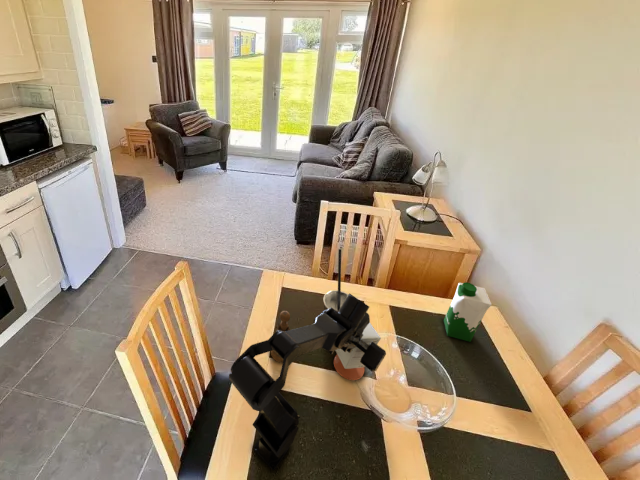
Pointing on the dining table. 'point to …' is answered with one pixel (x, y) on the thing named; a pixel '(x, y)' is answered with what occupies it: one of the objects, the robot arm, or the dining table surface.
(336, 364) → the coaster
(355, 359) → the white packaging box
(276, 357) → the wooden pepper mill
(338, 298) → the steel tumbler with straw
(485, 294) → the milk carton
